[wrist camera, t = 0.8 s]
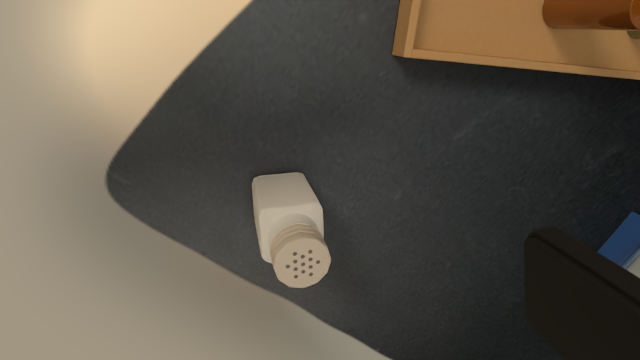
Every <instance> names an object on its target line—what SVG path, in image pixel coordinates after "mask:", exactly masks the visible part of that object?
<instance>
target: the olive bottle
mask: <svg viewBox="0 0 640 360" xmlns="http://www.w3.org/2000/svg"><path fill="white" fill-rule="evenodd" d="M627 32H628V34H629V36H630V37H631V38H633V39H636V40H640V31H627Z"/></svg>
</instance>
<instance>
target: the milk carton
mask: <svg viewBox="0 0 640 360" xmlns="http://www.w3.org/2000/svg"><path fill="white" fill-rule="evenodd" d="M597 252H598V253H600V254H601V255H603V256H604V257H606V258H608V259H609V260H611V261H613V262H614V263H616V264H618V265H619V266H621V267H623V268H624V269H626V270H628V271H629V272H631V273H633V274H634V275H636V276H638V277H639V278H640V215H639V214H637V213H634V212H631V213H630V214H629V216H628V217H627V218H626V219H625V220H624V221H623V222H622V224H621V225H620V226H619V227H618V228H617V229H616V231H615V232H614V233H613V234H612V235H611V236H610V237H609V239H608V240H607V241H606V242H605V243H604V244H603V245H602V247H601V248H600V249H599V250H598V251H597Z"/></svg>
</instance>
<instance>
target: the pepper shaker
mask: <svg viewBox="0 0 640 360" xmlns="http://www.w3.org/2000/svg"><path fill="white" fill-rule="evenodd" d="M252 196H253V208H254V219H255V225H256V230H257V235H258V241H259V246H260V251H261V256H262V258H263V259H264V260H265V261H266V262H269V263H272V264H273V268H274V270H275V273H276V275H277V278H278V280H280V281H281V282H283V283H284V284H286V285H287V286H289V287H296V288H305V287H308V286H310V285H313V284H316V283H318V282H319V281H320V280H321V279H322V278H323V277H324V276H325V275H326V273H327V272H328V269H329V265H330V262H331V257H330V254H329V251H328V248H327V245H326V243H325V241H324V225H323V209H322V207H321V205H320V203H319V201H318V199H317V197H316V196H315V194H314V192H313V190H312V188H311V187H310V185H309V183H308V181H307V180H306V178H305V176H304V174H302V173H299V172H293V173H283V174H272V175H262V176H258V177H255V178H254V179H253V181H252Z"/></svg>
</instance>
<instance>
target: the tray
mask: <svg viewBox="0 0 640 360" xmlns="http://www.w3.org/2000/svg"><path fill="white" fill-rule="evenodd" d="M543 3H544V0H400V6H399V13H398V19H397V26H396V32H395V39H394V45H393V51H392V55H394V56H399V57H406V58H416V59H427V60H437V61H448V62H458V63H469V64H479V65H489V66H500V67H510V68H521V69H531V70H542V71H552V72H563V73H573V74H584V75H594V76H605V77H615V78H626V79H636V80H640V40H636V39H633V38H631V37H630V36H629V34H628V32H627V31H622V30H573V29H553V28H550V27H549V26H548V25H547V24H546V23H545V21H544V19H543V14H542V8H543Z"/></svg>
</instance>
